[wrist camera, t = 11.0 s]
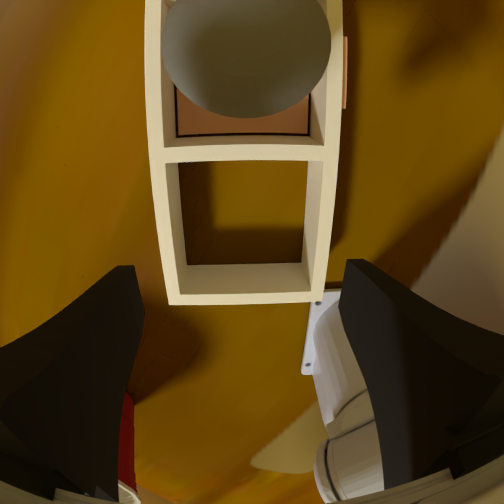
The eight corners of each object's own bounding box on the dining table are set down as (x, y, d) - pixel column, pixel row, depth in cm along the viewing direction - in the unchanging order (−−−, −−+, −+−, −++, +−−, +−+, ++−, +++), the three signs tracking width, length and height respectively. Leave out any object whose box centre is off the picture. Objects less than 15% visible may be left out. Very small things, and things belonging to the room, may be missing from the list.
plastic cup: (129, 358, 27) (98, 473, 16) (170, 420, 32) (160, 514, 21) (46, 362, 27) (6, 453, 17) (93, 419, 32) (72, 500, 22)
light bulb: (299, 20, 14) (362, -40, 6) (289, 114, 17) (343, 138, 9) (195, 11, 14) (155, -60, 5) (186, 106, 17) (133, 122, 8)
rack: (316, 271, 23) (328, 300, 20) (177, 275, 22) (169, 304, 19) (324, -95, 10) (338, -118, 7) (169, -96, 10) (159, -121, 6)
